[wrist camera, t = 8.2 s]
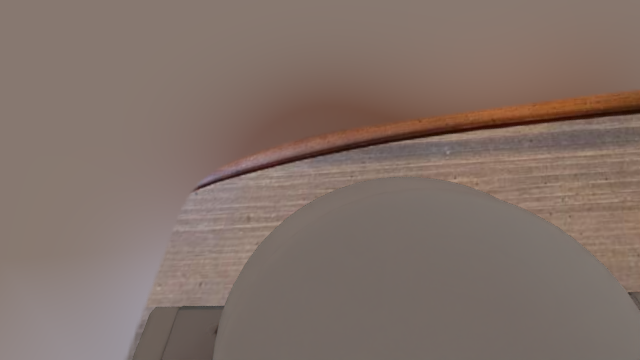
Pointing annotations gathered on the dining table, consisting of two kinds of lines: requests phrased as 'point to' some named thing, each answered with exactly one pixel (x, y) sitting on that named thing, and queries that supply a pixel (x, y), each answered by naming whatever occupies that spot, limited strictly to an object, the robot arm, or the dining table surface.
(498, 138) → the dining table surface
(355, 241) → the pill bottle
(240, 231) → the dining table surface
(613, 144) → the dining table surface
